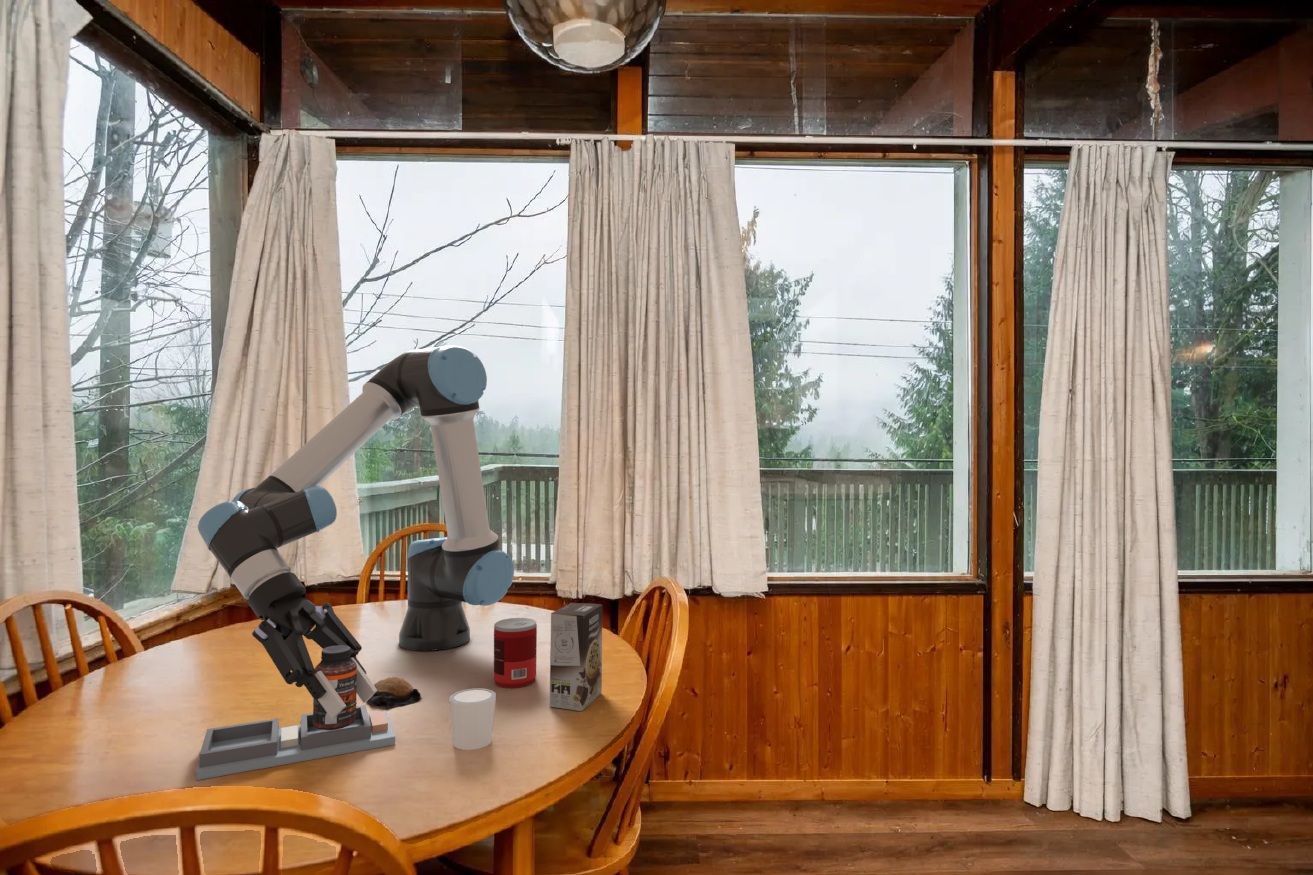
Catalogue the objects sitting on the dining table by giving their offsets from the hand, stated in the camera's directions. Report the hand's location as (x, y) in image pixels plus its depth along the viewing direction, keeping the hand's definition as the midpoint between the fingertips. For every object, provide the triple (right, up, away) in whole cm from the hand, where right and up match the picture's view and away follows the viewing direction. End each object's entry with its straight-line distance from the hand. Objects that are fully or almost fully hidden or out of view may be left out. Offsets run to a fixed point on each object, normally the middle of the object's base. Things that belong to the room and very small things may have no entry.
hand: (355, 703), depth 105 cm
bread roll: (-2, -7, +19) cm, 20 cm away
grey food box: (+31, -6, +18) cm, 36 cm away
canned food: (+18, -6, +27) cm, 34 cm away
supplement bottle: (-4, -4, +1) cm, 5 cm away
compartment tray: (-8, -6, -1) cm, 10 cm away
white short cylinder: (+17, -6, +1) cm, 18 cm away
